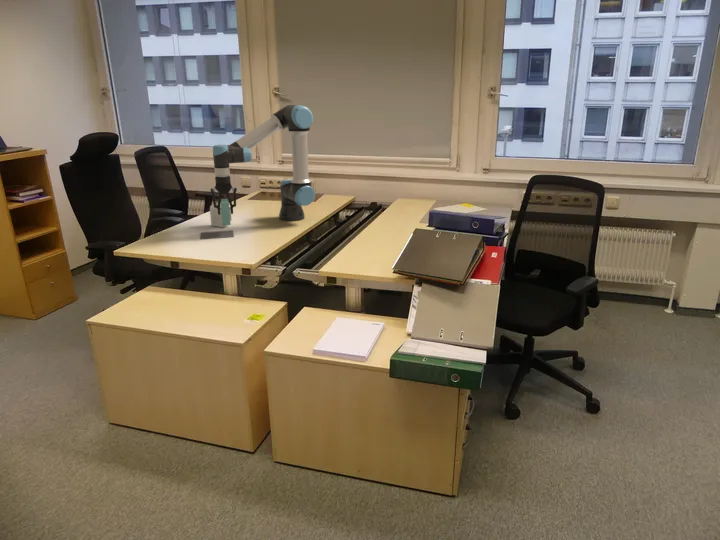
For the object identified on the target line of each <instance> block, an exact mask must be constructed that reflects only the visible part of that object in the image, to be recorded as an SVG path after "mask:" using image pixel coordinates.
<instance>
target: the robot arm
mask: <svg viewBox="0 0 720 540" xmlns="http://www.w3.org/2000/svg"><path fill="white" fill-rule="evenodd" d="M313 122H314V116H313V113H312V110H311V109H310V108H308V107H307V106H304V105H300V104H296V105H295V104H289V105H285V106H283V107H282V108H280V109H279V110H278V111H276V112H274V113H272V114H271V116H270V118H268V120H266V121H264V122H263V123H261V124H260V125H258V126H257V127H255V128H253V129H252V130H250V131H249V132H247V134H245V135H243V136H241V137H240V138H238V139H237V140H236V141H235V140H234V142H232V143H230V144H214V145H213V146H212V157H213V167H214V175H215V177H214V178H215V179H214V180H215V186H214V187H212V188H210V192H211V194H212V195H211V196H212V203H213V204H212V205H214V208H217V209H218V215H220V216H221V221H222V211H221V208H220V205H221V199H222V195H224V194H225V195H226V197H227V199H228V200H229V211H230V222H231V221H232V215H234V208H236V207H237V187H236V186H233V185H232V184H231V183H232V182H231V176H230V175H231V172H230V170H231V169H230V164H241V163H242V164H243V163H244V164H245V163H250V162H252V161H251V160H252V159H253V158H252V157H253V156H252V148H254V147H255V146H257V145H258V144H259V143H261V142H263V141H265V140H266V139H267V138H269V137H271V136H272V135H274V134H275V133H277V132H278V131H283V130H284V129H286V128H287V130H288V133H290V136H291V155H292V159H291V160H292V177H293V178H291V179H283V180H281V181H280V186H279V188H280V200H281V201H280V202H281V203H280V204H281V205H280V209H279V214H278V219H279V220H280V219H281V221H284V220H285V222H287V221H288V222H294V221H295V222H296V220H297V221H301V219H302V220H304V219H305V218H306V215H305V212H304V209H303V207H306V206H309V205H311V204H312V203H313V202H314V201H315V198H316V192H315V191H316V190H314V188H313V187H312V180H311V179H310V178H309V177H310V176H309V158H308V157H309V153H308V152H309V151H308V134H309V133H310V132H311V131H310V130H311V129H310V127H311V125H312V124H313ZM231 190H232V195H233V198H232V199H233V202H232V199H231V196H230V191H231ZM216 191H217V192H218V201H217V202H216V193H215V192H216ZM216 204H218V205H216Z"/></svg>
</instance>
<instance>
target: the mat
mask: <svg viewBox="0 0 720 540" xmlns="http://www.w3.org/2000/svg"><path fill="white" fill-rule="evenodd" d="M234 237H235V234H234V230H217V231H205V232H203V231H202V232H200V235H199V239H200V240H209V239H211V240H212V239H225V238H234Z"/></svg>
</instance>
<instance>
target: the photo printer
mask: <svg viewBox="0 0 720 540" xmlns="http://www.w3.org/2000/svg"><path fill="white" fill-rule="evenodd" d="M216 205H218V203H216ZM220 208H221V204H220ZM209 215H210V225H211V226H213V227H218V228H227V227H228V226H229V225H223V223H222V221H221V216H220V215H218V209H217V208H214V204H212V205H210V206H209Z"/></svg>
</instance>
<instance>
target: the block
mask: <svg viewBox="0 0 720 540" xmlns="http://www.w3.org/2000/svg"><path fill="white" fill-rule="evenodd" d="M220 205H221V211H222V223H223V225H228V226H231V225H232V224H231V223H232V222H231V221H230V211H229V207H230V204H229V200H228V198H221V203H220Z"/></svg>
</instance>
